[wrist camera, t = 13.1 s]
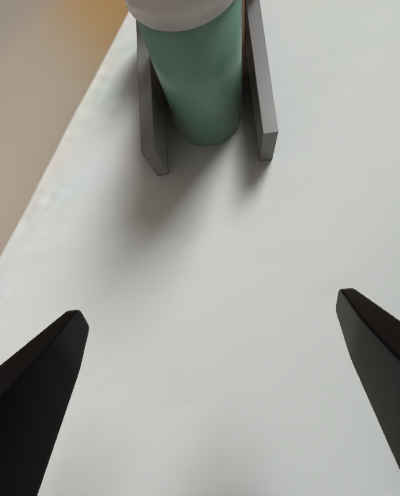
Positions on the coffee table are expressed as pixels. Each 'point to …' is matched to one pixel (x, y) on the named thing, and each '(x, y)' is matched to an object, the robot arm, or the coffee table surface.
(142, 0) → the jar
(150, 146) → the pusher lane
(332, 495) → the coffee table surface
